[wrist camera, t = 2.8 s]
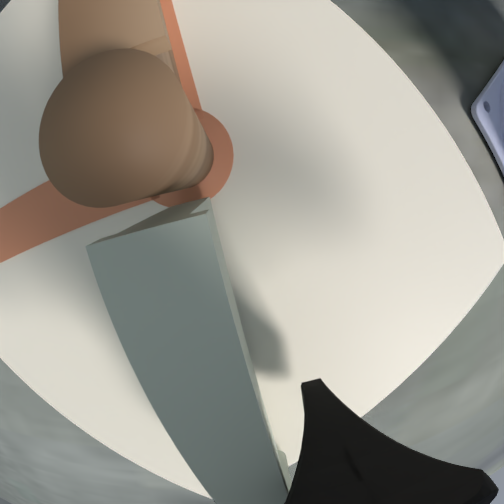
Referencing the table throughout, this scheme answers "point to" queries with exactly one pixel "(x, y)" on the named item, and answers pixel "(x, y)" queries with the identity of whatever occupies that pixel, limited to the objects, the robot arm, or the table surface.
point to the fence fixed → (119, 108)
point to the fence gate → (192, 350)
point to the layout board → (251, 220)
